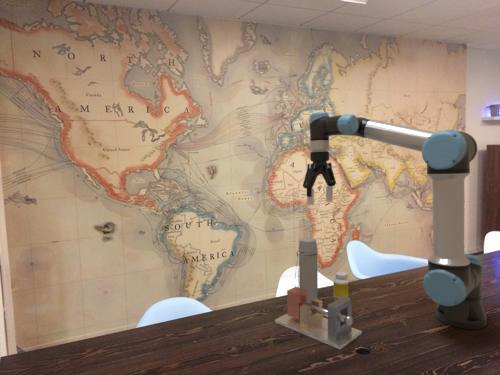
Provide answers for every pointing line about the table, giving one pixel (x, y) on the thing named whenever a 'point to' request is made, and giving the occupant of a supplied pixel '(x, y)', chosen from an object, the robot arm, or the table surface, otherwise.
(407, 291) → the table surface
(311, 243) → the water bottle
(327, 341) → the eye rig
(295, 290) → the mallet
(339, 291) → the pill bottle
